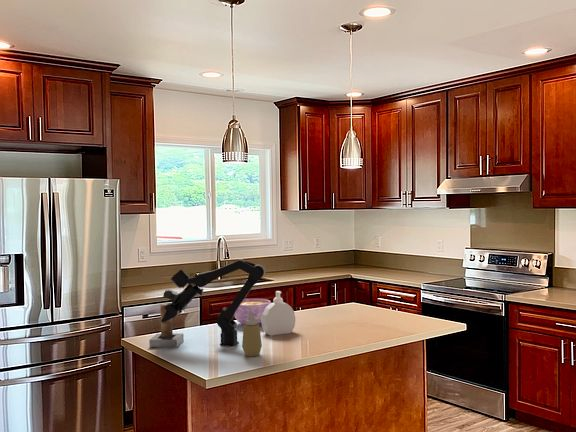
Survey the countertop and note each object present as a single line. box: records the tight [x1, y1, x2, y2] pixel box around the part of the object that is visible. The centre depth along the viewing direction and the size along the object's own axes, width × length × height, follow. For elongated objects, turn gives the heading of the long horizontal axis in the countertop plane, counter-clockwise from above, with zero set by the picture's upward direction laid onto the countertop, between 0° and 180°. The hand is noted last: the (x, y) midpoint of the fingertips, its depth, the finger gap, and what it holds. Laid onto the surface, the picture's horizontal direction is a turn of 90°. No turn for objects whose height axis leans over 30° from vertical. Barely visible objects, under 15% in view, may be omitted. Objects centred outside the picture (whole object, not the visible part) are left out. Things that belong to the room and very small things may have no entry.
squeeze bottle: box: [241, 311, 263, 358], centre depth 239 cm, size 8×8×18 cm
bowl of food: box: [230, 298, 272, 326], centre depth 299 cm, size 20×20×12 cm
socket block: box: [148, 332, 185, 349], centre depth 260 cm, size 12×12×4 cm
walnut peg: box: [159, 303, 174, 338], centre depth 260 cm, size 5×5×14 cm
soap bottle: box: [260, 290, 296, 337], centre depth 277 cm, size 16×5×20 cm, turn 119°
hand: (163, 320), depth 260 cm, fingers closed on walnut peg, 5 cm apart
